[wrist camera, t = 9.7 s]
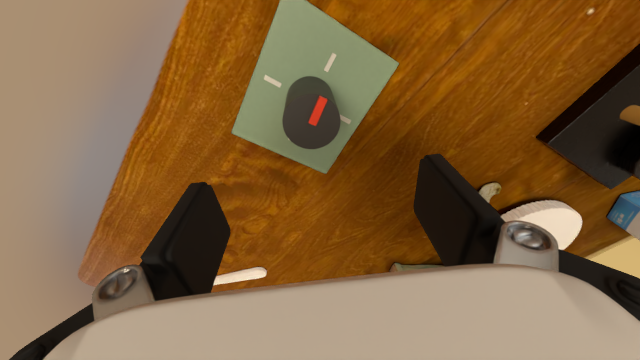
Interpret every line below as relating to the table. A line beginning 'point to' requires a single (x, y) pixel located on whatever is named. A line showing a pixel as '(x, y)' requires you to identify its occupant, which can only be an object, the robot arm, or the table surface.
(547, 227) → the plastic lid
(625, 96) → the lamp base
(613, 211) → the ink box
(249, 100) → the dimmer panel
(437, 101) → the table surface
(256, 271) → the spoon
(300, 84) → the dimmer knob
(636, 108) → the lamp
